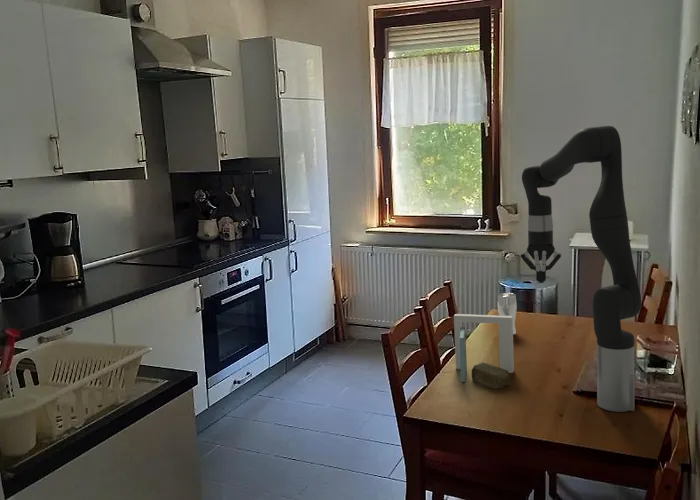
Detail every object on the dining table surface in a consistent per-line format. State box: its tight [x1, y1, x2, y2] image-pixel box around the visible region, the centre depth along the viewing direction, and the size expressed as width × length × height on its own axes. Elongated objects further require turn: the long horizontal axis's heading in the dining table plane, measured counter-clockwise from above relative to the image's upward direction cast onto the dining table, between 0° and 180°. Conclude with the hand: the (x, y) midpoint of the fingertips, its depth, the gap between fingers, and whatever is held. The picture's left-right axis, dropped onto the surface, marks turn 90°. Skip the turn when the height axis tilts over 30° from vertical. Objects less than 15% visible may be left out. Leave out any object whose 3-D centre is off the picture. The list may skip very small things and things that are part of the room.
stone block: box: [471, 362, 510, 390], centre depth 196 cm, size 6×12×5 cm, turn 33°
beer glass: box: [497, 292, 518, 336], centre depth 243 cm, size 7×7×15 cm
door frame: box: [453, 313, 515, 374], centre depth 206 cm, size 18×2×18 cm, turn 68°
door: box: [460, 326, 468, 383], centre depth 202 cm, size 12×1×14 cm, turn 168°
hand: (541, 282), depth 206 cm, fingers closed
